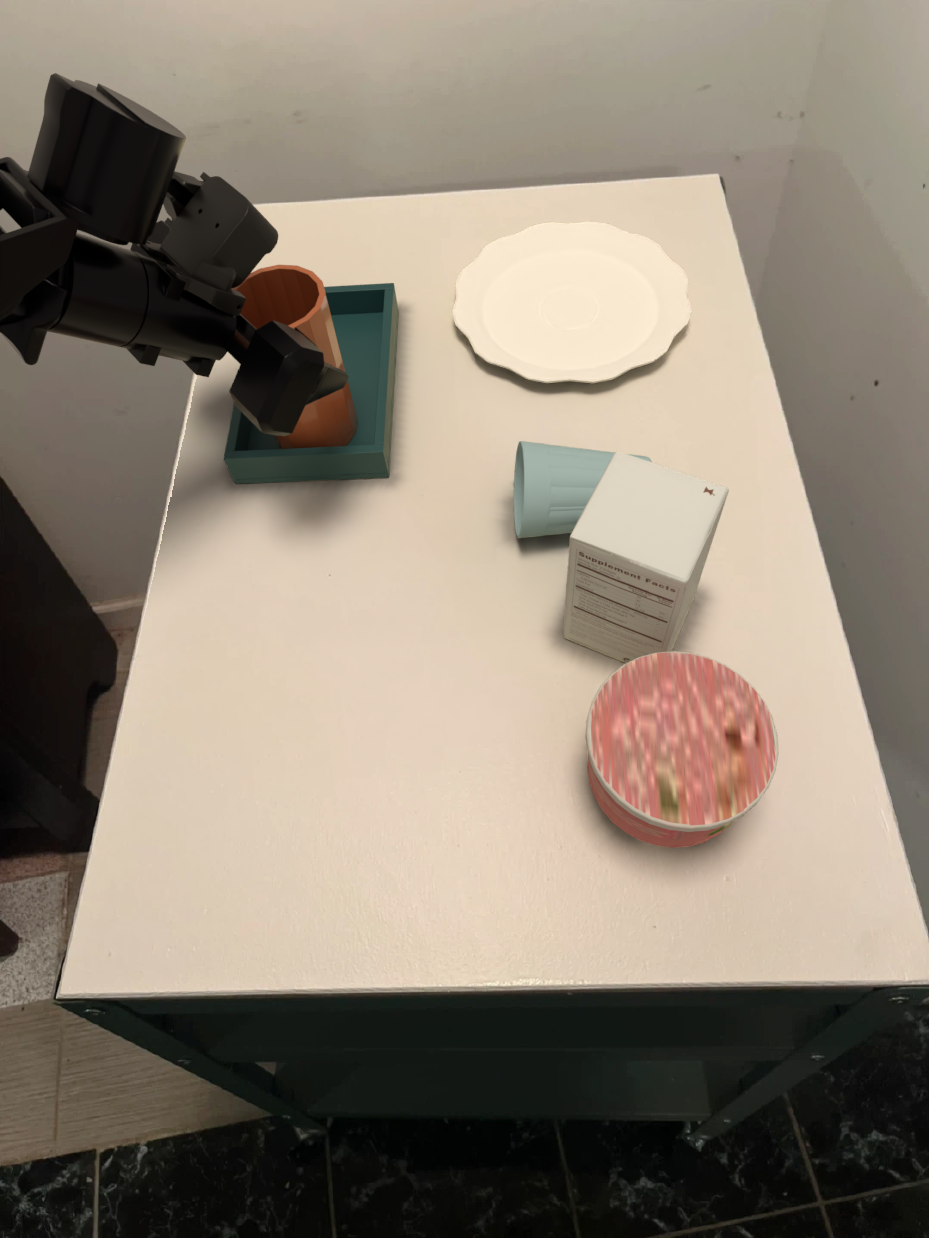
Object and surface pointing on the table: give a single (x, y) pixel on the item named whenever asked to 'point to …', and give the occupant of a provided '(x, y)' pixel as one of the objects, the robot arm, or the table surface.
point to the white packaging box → (638, 557)
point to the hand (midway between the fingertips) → (310, 349)
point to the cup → (554, 486)
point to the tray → (370, 364)
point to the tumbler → (306, 307)
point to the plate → (571, 302)
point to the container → (678, 748)
